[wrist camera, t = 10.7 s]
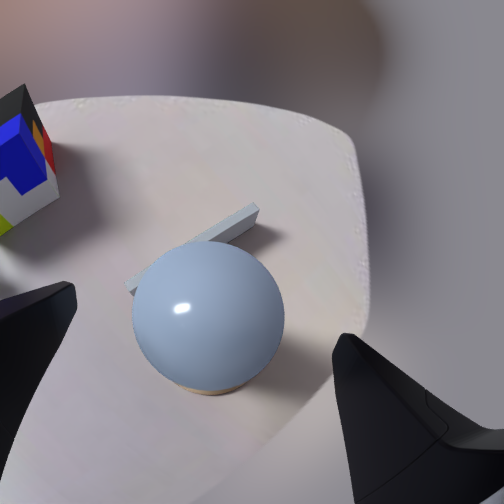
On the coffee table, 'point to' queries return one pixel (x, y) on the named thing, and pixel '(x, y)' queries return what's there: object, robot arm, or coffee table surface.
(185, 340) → the pale blue domed part
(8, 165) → the puzzle toy
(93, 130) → the coffee table surface
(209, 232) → the acrylic wall
